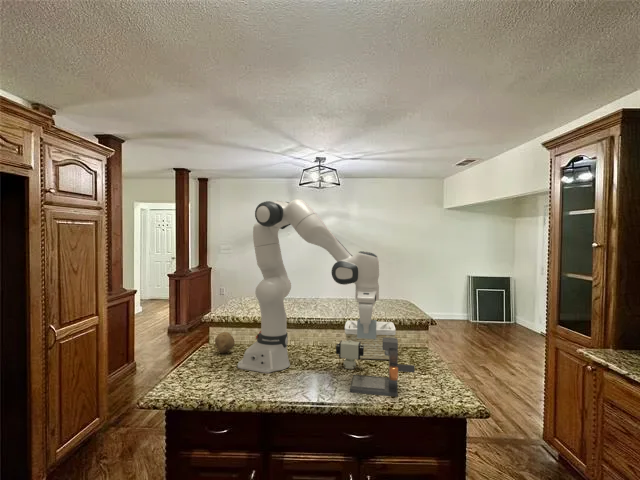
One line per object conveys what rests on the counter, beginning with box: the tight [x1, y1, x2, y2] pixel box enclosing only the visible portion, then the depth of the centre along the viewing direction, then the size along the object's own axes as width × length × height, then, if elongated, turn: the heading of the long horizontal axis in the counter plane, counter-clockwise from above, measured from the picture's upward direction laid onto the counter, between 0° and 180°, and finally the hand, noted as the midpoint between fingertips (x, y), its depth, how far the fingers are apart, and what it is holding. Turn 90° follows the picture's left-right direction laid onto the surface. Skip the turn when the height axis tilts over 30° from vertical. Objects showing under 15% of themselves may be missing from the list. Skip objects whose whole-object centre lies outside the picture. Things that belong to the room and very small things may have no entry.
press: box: [349, 337, 416, 398], centre depth 135 cm, size 23×14×18 cm, turn 79°
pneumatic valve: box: [335, 340, 364, 370], centre depth 155 cm, size 6×12×12 cm, turn 78°
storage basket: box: [344, 319, 397, 361], centre depth 173 cm, size 24×16×15 cm
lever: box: [388, 366, 399, 381], centre depth 127 cm, size 3×6×4 cm, turn 169°
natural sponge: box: [214, 331, 236, 354], centre depth 172 cm, size 9×9×10 cm
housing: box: [356, 318, 378, 339], centre depth 136 cm, size 7×5×6 cm
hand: (366, 330), depth 136 cm, fingers closed on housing, 5 cm apart
